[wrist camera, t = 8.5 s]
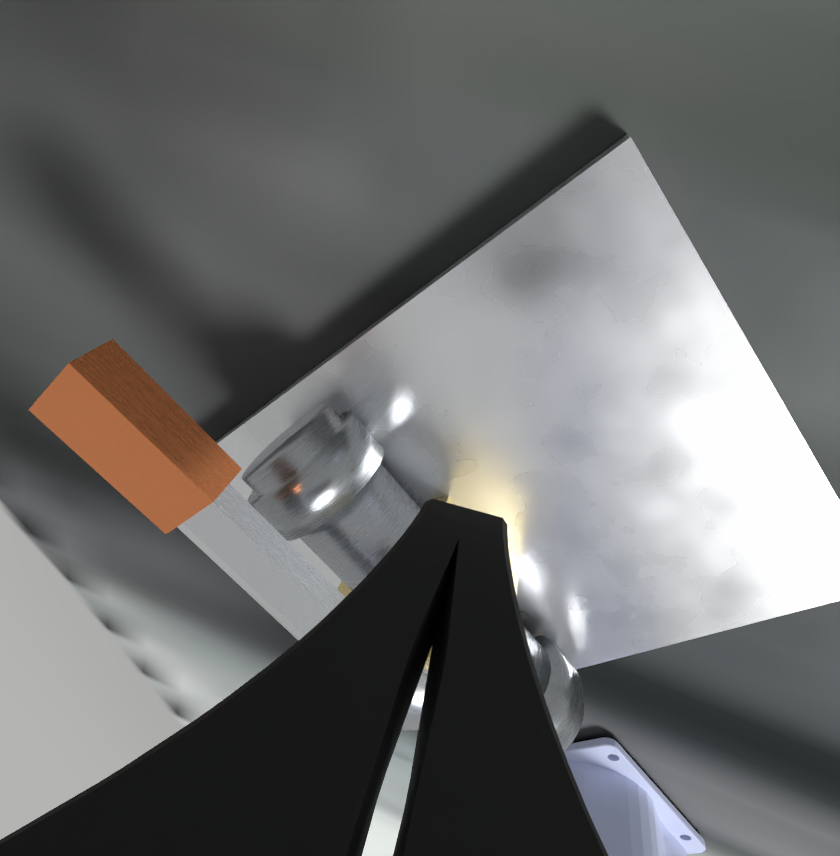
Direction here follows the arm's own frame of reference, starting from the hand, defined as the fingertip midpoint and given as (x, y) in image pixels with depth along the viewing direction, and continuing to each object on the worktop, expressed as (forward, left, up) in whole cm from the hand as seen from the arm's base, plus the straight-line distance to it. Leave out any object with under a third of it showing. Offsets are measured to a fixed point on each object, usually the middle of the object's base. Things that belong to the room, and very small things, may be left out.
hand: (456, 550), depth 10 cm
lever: (0, +7, -3) cm, 8 cm away
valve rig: (-5, +5, -9) cm, 12 cm away
